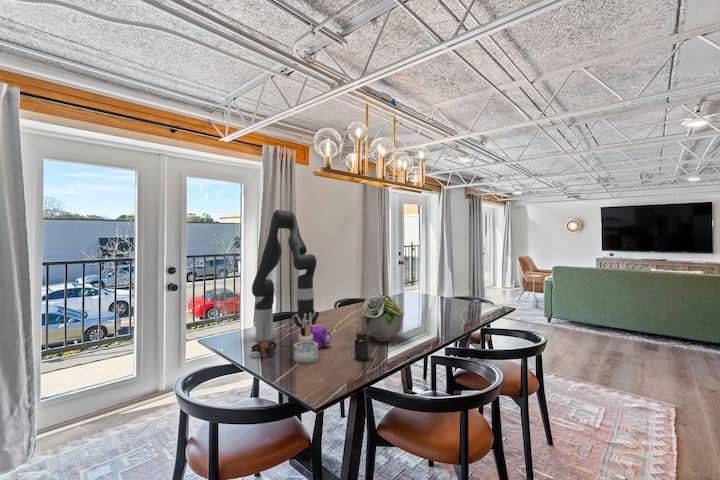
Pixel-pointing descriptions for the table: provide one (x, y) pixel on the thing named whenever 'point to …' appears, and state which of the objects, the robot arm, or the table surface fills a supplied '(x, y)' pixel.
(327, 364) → the table surface
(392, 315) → the flower arrangement
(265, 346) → the brown teapot
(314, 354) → the glass candle holder
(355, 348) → the supplement bottle
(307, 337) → the knob lid with grip
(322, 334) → the toy camera
